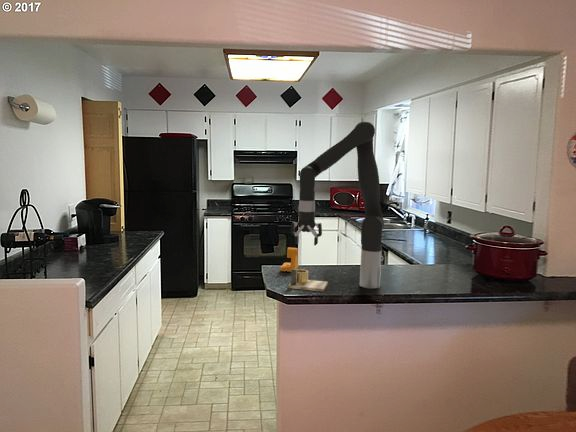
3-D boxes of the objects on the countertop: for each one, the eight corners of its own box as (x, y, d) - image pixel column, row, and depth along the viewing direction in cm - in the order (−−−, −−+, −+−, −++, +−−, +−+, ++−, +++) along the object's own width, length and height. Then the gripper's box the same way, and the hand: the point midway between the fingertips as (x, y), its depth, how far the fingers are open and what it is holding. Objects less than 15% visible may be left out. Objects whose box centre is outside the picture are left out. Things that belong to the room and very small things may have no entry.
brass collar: (308, 280, 214) (309, 269, 214) (306, 283, 208) (306, 273, 208) (295, 279, 216) (296, 268, 215) (292, 282, 210) (293, 272, 209)
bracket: (284, 267, 242) (285, 245, 240) (298, 268, 241) (298, 246, 239) (280, 272, 232) (281, 249, 230) (294, 273, 230) (295, 250, 228)
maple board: (327, 284, 213) (328, 267, 212) (323, 291, 202) (323, 273, 201) (294, 280, 217) (294, 264, 216) (287, 287, 206) (288, 270, 204)
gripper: (323, 209, 213) (322, 244, 215) (293, 208, 216) (292, 242, 218) (320, 211, 205) (320, 247, 208) (289, 210, 209) (289, 245, 211)
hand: (306, 244), depth 213 cm, fingers open, 8 cm apart
